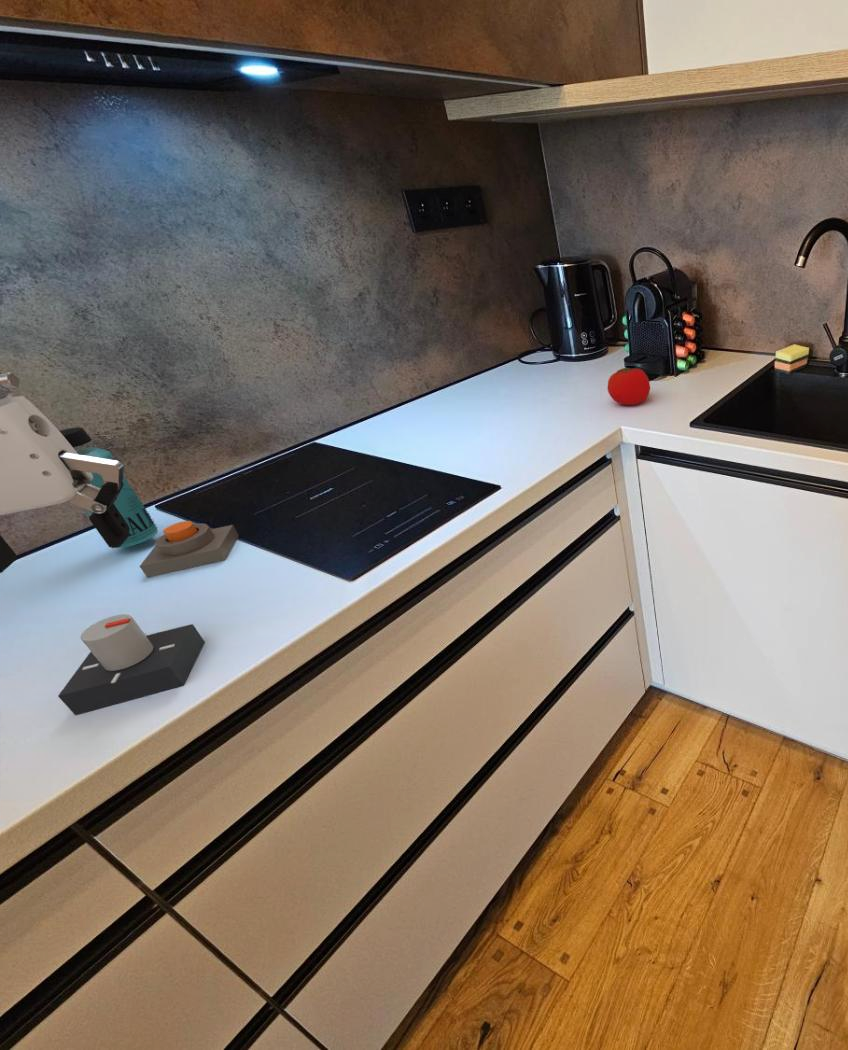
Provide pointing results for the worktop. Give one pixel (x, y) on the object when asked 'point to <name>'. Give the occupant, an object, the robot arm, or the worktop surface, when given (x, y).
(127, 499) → the beverage bottle
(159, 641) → the black angular plate
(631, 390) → the tomato
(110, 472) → the robot arm
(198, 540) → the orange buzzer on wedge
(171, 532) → the lid button
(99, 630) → the dial
